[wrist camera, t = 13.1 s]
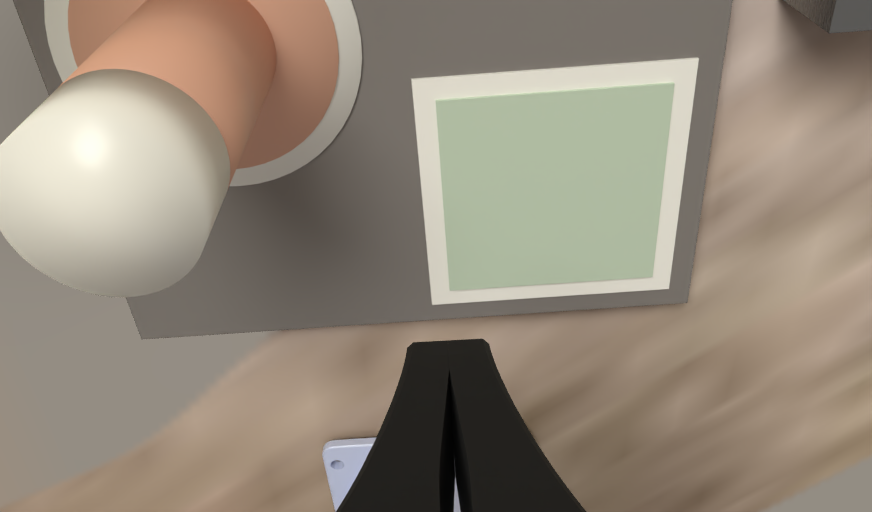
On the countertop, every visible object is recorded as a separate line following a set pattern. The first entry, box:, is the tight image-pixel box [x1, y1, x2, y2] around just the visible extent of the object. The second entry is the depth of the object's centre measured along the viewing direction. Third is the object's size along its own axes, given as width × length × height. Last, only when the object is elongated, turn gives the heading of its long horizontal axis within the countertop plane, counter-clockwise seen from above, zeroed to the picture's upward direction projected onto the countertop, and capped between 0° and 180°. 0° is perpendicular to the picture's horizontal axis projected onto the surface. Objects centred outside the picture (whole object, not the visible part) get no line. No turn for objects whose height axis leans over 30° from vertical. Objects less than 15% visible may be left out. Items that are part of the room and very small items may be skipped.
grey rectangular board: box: [13, 0, 733, 339], centre depth 21 cm, size 14×18×1 cm
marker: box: [0, 0, 276, 297], centre depth 16 cm, size 4×4×8 cm
